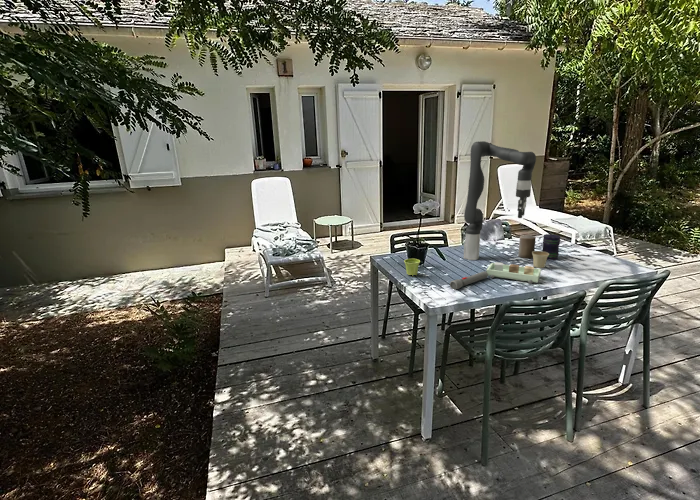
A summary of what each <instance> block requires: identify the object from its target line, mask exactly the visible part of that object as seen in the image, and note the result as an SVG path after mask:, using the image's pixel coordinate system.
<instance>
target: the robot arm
mask: <svg viewBox="0 0 700 500" xmlns="http://www.w3.org/2000/svg"><path fill="white" fill-rule="evenodd" d="M482 157H483V158H484V157H494V158H498V159H500V160H501V161H506V162H510V163H514V164H517V165H519V166H522V168H521V169H520V170H518V172H517V182H516V186H515V187H516V188H515V190H516V191H515V197H516V198H519V199H518V200H517V218H518V219H522V218H523V216H525V212H526V208H527V203H528V202H527V199H528V198H531V192H532V177H533V176H532V175H533V170H534V169H535V165H536V162H537V157H536V154H535V153H534V152H533V151H519V150H517V149H515V148H510V147H503V146H498V145H495V144H493V143H491V142H488V141H474V142H473V143H472V144H471V147H470V169H469V178H468V189H467V196H466V197H467V198H466V204H465V209H464V215H463V218H464V221H465V223H466V224H469V225H468V226H467V227H466V228H465V239H464V245H463V259H464V260H469V261H475V260H476V261H477V260H479V258H480V245H481V243H480V241H481V231H482V230H483V224H484V223H483V222H484V213H483V211H482V209H480V208H478V207H477V206H478V202H479V200H480V198H481V195H482V194H483V191H484V186H485V176H484V173H483V170H482V165H481V163H482Z"/></svg>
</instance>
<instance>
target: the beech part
mask: <svg viewBox="0 0 700 500" xmlns="http://www.w3.org/2000/svg"><path fill="white" fill-rule="evenodd" d="M524 267H525V268H524V274H527V275H533V273H534V268H535V266H532V265H531V266H530V265H524Z"/></svg>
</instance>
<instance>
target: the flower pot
mask: <svg viewBox="0 0 700 500" xmlns="http://www.w3.org/2000/svg"><path fill="white" fill-rule="evenodd" d="M532 254H533V258H532V261H533V267H534V268H536V269H542V268H545V267H546V264H547V257H548V255H549V253H547V252H543V251H542V250H534V252H532Z"/></svg>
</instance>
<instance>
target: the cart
mask: <svg viewBox="0 0 700 500" xmlns="http://www.w3.org/2000/svg"><path fill="white" fill-rule="evenodd" d="M509 266H510V264H504V263H503V271H497V270H495V262H491V263H490V264H489V265H488V267H487V268H486V270H485V272H487V273H488V277H489V278H490V279H491V278H492V279H494V278H503V279H510V280H517V281H521V282H527V283H528V285H532V284H533V283H536V284H537V283H538V282H539V280H540V278H541V273H542V268H537V267H534V273H533V275H527V274H524V268H525V266H520V265H519V273H512V272H509Z"/></svg>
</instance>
